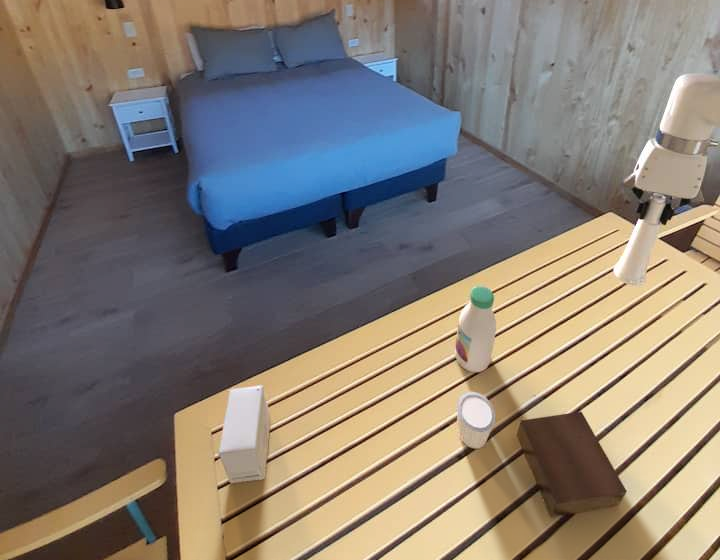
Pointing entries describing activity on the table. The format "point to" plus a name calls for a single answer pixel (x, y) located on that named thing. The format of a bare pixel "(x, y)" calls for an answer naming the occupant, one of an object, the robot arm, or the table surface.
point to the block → (569, 464)
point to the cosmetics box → (245, 434)
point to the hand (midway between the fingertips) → (651, 217)
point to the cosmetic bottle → (641, 244)
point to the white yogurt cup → (474, 419)
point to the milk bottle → (476, 331)
